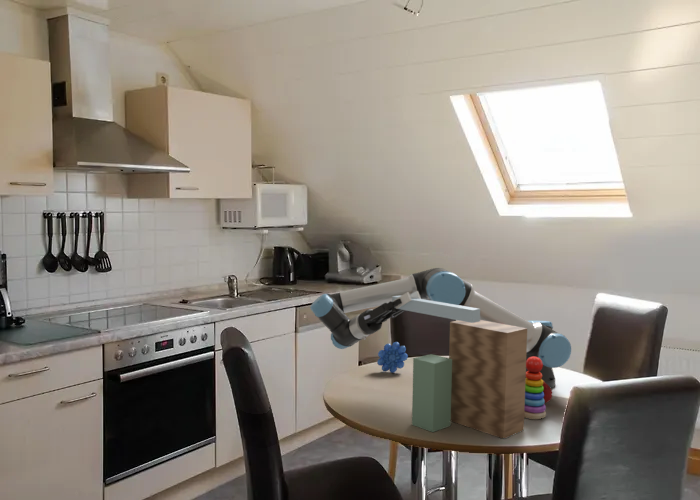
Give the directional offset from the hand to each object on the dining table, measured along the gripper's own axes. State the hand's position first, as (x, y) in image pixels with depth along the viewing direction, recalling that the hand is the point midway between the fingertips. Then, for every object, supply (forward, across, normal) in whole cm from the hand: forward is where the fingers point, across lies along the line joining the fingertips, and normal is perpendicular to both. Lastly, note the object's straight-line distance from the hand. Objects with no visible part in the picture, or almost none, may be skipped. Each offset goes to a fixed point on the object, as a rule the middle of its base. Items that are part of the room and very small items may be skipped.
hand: (414, 295), depth 192 cm
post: (-12, 0, -36) cm, 38 cm away
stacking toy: (+1, -30, -44) cm, 54 cm away
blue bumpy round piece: (-53, -34, -13) cm, 64 cm away
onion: (-2, -43, -42) cm, 60 cm away
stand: (-3, -12, -42) cm, 44 cm away
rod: (+5, 0, -8) cm, 9 cm away
